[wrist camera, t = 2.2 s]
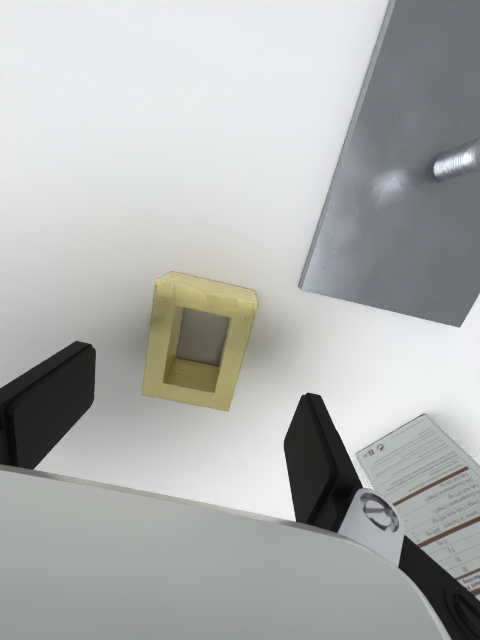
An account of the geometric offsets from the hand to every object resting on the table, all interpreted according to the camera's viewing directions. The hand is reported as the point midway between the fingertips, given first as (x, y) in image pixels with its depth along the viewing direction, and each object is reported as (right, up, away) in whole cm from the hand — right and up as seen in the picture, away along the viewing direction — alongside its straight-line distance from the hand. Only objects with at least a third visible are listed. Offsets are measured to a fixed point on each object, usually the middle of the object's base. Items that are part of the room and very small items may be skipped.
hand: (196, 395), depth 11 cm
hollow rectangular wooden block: (-1, +3, +8) cm, 8 cm away
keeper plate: (+14, +13, +4) cm, 19 cm away
